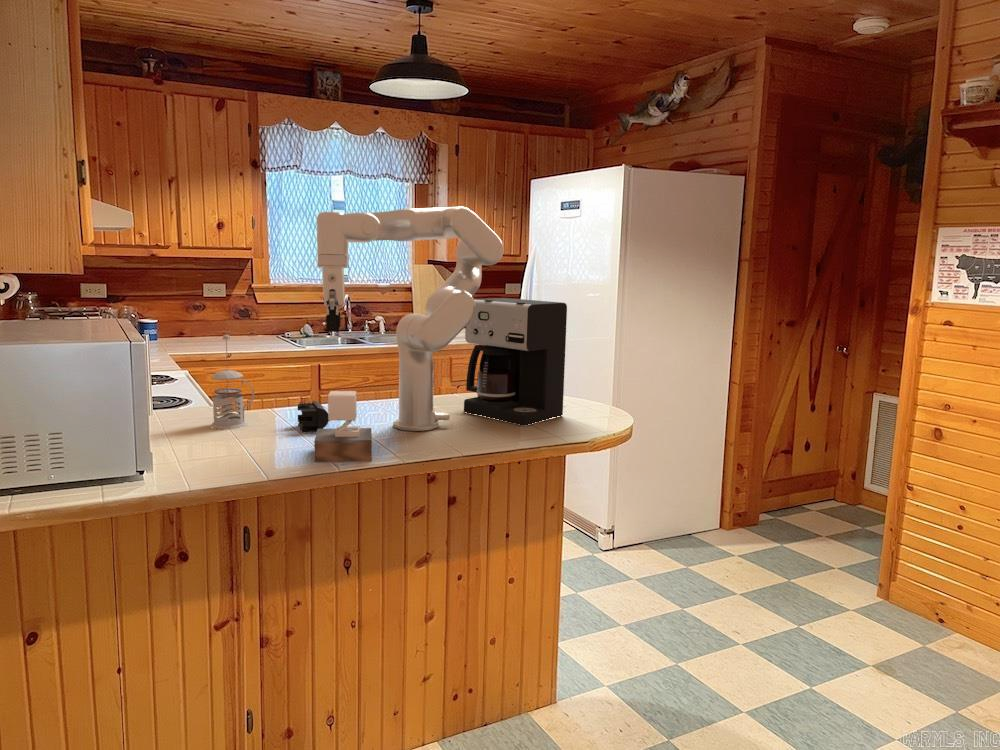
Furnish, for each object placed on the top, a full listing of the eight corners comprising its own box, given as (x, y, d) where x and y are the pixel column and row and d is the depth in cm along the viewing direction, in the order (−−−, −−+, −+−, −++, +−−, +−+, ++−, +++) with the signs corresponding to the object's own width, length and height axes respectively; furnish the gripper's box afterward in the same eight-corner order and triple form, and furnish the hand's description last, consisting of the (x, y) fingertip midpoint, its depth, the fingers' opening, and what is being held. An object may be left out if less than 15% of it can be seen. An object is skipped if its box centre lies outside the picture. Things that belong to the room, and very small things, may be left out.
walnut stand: (371, 447, 187) (371, 427, 186) (371, 460, 175) (371, 439, 175) (317, 448, 185) (317, 428, 184) (314, 462, 173) (314, 440, 172)
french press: (208, 422, 209) (205, 333, 205) (252, 419, 213) (250, 332, 209) (211, 430, 200) (207, 337, 196) (256, 427, 205) (254, 336, 201)
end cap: (329, 431, 203) (329, 407, 201) (302, 433, 200) (302, 408, 199) (323, 423, 212) (323, 400, 211) (297, 425, 209) (297, 401, 208)
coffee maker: (452, 411, 232) (454, 297, 226) (493, 402, 247) (496, 296, 241) (523, 426, 214) (527, 303, 208) (563, 416, 229) (568, 301, 223)
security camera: (330, 430, 182) (330, 390, 181) (360, 430, 183) (360, 390, 181) (328, 437, 176) (327, 395, 174) (358, 437, 177) (358, 395, 175)
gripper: (347, 263, 182) (347, 333, 185) (348, 261, 199) (348, 326, 201) (315, 262, 180) (316, 333, 183) (319, 261, 197) (320, 325, 200)
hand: (333, 329), depth 192 cm, fingers open, 9 cm apart
